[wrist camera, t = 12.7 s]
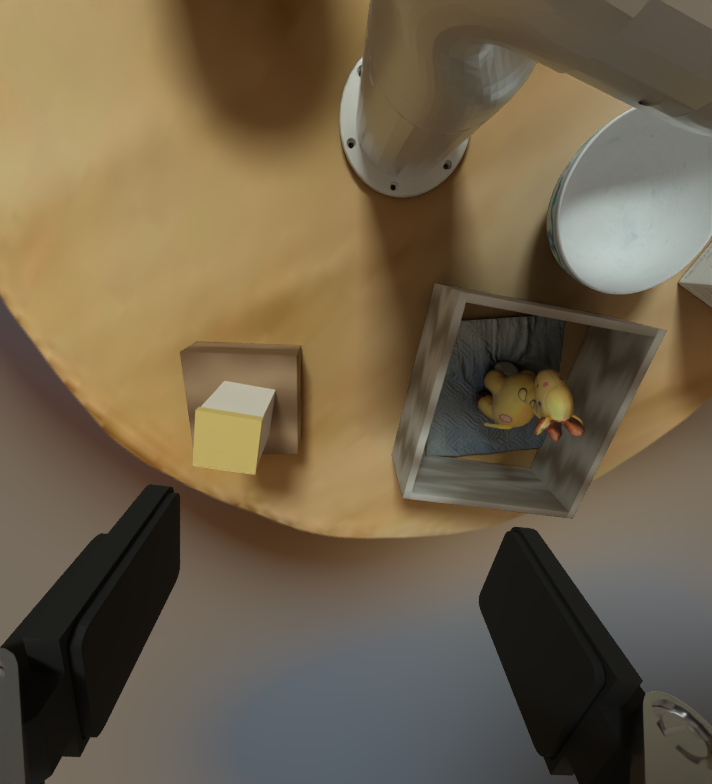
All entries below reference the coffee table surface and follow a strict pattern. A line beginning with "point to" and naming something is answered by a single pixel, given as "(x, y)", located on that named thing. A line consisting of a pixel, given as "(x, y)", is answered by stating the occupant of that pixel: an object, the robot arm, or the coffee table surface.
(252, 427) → the tea tin
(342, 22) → the coffee table surface
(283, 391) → the walnut box
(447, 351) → the grey crate
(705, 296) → the supplement box
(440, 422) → the stuffed giraffe
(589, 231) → the chinaware
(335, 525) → the coffee table surface
